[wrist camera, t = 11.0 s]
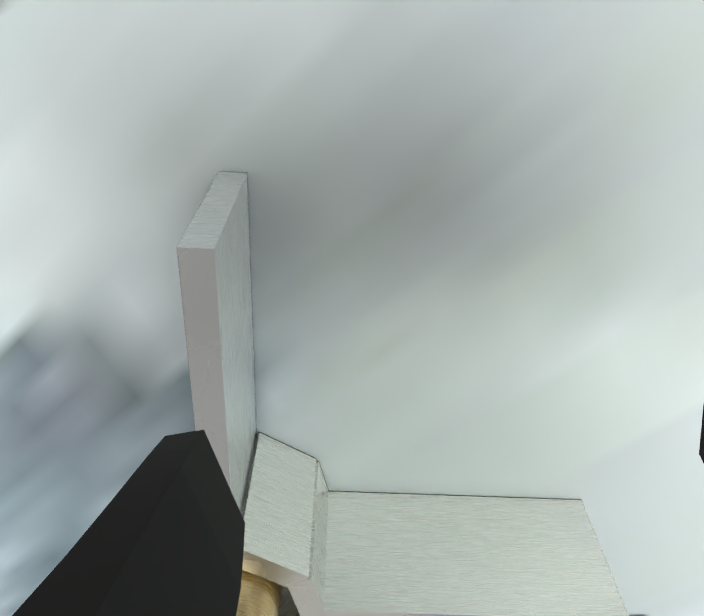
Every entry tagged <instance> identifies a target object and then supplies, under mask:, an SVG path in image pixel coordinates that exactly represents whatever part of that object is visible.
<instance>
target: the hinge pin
mask: <svg viewBox="0 0 704 616" xmlns="http://www.w3.org/2000/svg"><path fill="white" fill-rule="evenodd" d="M280 592H281V585H280V584H277V583H275V582H272V581H270V580H267V579H264V578H262V577H259V576H257V575H254V574H252V573H249V572H247V571H244V570H242V579H241V590H240V596H239V602H238V608H237V613H236V616H278V610H279V601H280Z"/></svg>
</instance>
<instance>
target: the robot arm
mask: <svg viewBox="0 0 704 616" xmlns="http://www.w3.org/2000/svg"><path fill="white" fill-rule="evenodd" d="M699 455H700V457H701V459H702V461H703V463H704V406H703V417H702V428H701V439H700V450H699ZM244 533H245V521H244V519H243V517H242V515H241V512H240V510H239V508H238V506H237V503H236V501H235V499H234V496H233V494H232V492H231V490H230V487H229V485H228V483H227V481H226V478H225V476H224V474H223V472H222V469H221V467H220V465H219V462H218V460H217V458H216V456H215V453H214V451H213V449H212V447H211V444H210V442H209V440H208V438H207V435H206V433H205V431H204V430H199V431H193V432H187V433H181V434H175V435H169V436H165V437H164V438H163V439H162V440H161V442H160V443H159V444H158V445H157V446H156V447H155V448H154V450H153V451H152V452H151V453H150V454H149V455H148V457H147V458H146V459H145V460H144V461H143V463H142V464H141V465H140V466H139V468H138V469H137V470H136V471H135V472H134V474H133V475H132V476H131V477H130V479H129V480H128V481H127V482H126V484H125V485H124V486H123V487H122V488H121V490H120V491H119V492H118V493H117V495H116V496H115V497H114V498H113V500H112V501H111V502H110V503H109V504H108V506H107V507H106V508H105V509H104V511H103V512H102V513H101V514H100V515H99V517H98V518H97V519H96V520H95V521H94V523H93V524H92V525H91V526H90V527H89V529H88V530H87V531H86V532H85V533H84V535H83V536H82V537H81V538H80V539H79V541H78V542H77V543H76V544H75V545H74V547H73V548H72V549H71V550H70V551H69V553H68V554H67V555H66V556H65V557H64V558H63V560H62V561H61V562H60V563H59V564H58V565H57V566H56V567H55V568H54V570H53V571H52V572H51V573H50V574H49V575H48V576H47V577H46V579H45V580H44V581H43V582H42V583H41V584H40V585H39V586H38V587H37V589H36V590H35V591H34V592H33V593H32V594H31V595H30V596H29V597H28V599H27V600H26V601H25V602H24V603H23V604H22V605H21V606H20V608H19V609H18V610H17V611H16V612H15V613H14V614H13V615H12V616H236V613H237V608H238V602H239V596H240V590H241V579H242V567H243V552H244Z"/></svg>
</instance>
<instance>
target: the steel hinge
mask: <svg viewBox="0 0 704 616" xmlns="http://www.w3.org/2000/svg"><path fill="white" fill-rule="evenodd" d="M177 254H178V263H179V273H180V283H181V293H182V303H183V313H184V323H185V333H186V342H187V352H188V362H189V372H190V382H191V392H192V402H193V412H194V421H195V431H199V430H204V431H205V433H206V435H207V438H208V440H209V442H210V444H211V447H212V449H213V451H214V453H215V456H216V458H217V460H218V462H219V465H220V467H221V469H222V472H223V474H224V476H225V478H226V481H227V483H228V485H229V487H230V490H231V492H232V494H233V496H234V499H235V501H236V503H237V506H238V508H239V510H240V512H241V515H242V517H243V519H244V521H245V533H244V552H243V567H242V570H244V571H247V572H249V573H252V574H254V575H257V576H259V577H262V578H264V579H267V580H270V581H272V582H275V583H277V584H280V585H281V592H280V601H279V610H278V616H629V615H628V613H627V610H626V608H625V605H624V603H623V600H622V598H621V595H620V593H619V590H618V588H617V586H616V583H615V581H614V578H613V576H612V573H611V571H610V568H609V566H608V563H607V561H606V559H605V556H604V554H603V551H602V549H601V546H600V544H599V541H598V539H597V536H596V534H595V532H594V529H593V527H592V524H591V522H590V519H589V517H588V514H587V512H586V509H585V507H584V504H583V502H582V500H562V499H533V498H504V497H475V496H445V495H416V494H387V493H358V492H329V491H328V488H327V485H326V482H325V479H324V476H323V473H322V470H321V467H320V464H319V462H316V459H315V458H313V457H311V456H309V455H307V454H304V453H302V452H300V451H298V450H296V449H294V448H292V447H289V446H287V445H285V444H283V443H281V442H279V441H277V440H274V439H272V438H270V437H268V436H266V435H264V434H261V433H259V434H258V435H257V434H256V406H255V379H254V351H253V323H252V296H251V268H250V241H249V213H248V185H247V173H240V172H218V174H217V175H216V177H215V179H214V181H213V183H212V185H211V186H210V188H209V190H208V192H207V194H206V195H205V197H204V199H203V201H202V203H201V204H200V206H199V208H198V210H197V212H196V213H195V215H194V217H193V219H192V221H191V223H190V224H189V226H188V228H187V230H186V232H185V233H184V235H183V237H182V239H181V241H180V242H179V244H178V246H177Z"/></svg>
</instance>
